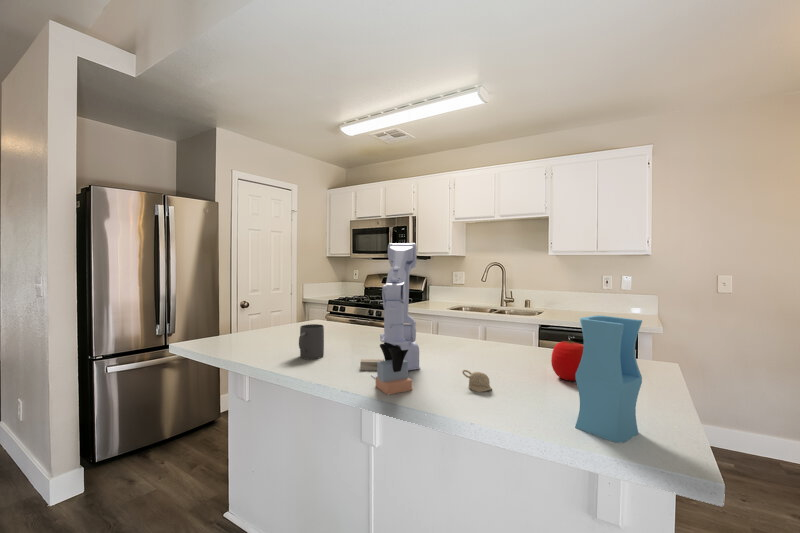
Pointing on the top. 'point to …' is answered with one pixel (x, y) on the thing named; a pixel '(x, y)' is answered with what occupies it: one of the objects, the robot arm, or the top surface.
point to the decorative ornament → (478, 381)
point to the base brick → (394, 385)
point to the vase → (608, 378)
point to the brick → (369, 364)
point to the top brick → (391, 371)
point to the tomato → (566, 359)
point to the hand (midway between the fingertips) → (393, 369)
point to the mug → (311, 341)
